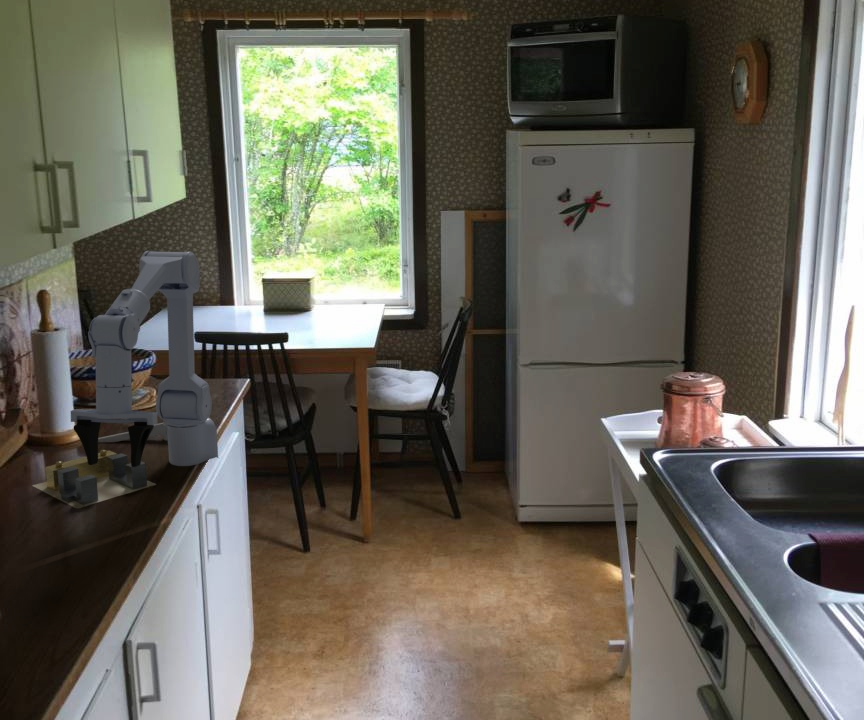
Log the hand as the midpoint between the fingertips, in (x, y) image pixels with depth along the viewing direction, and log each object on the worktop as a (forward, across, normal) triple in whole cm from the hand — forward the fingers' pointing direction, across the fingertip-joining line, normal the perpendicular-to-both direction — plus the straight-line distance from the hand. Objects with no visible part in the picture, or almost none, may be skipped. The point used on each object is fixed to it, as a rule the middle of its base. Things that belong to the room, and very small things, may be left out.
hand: (114, 464), depth 155 cm
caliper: (+5, -16, +42) cm, 45 cm away
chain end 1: (+8, -11, +10) cm, 17 cm away
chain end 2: (+7, -6, +18) cm, 20 cm away
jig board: (+8, -11, +16) cm, 21 cm away
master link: (+7, -15, +18) cm, 24 cm away
